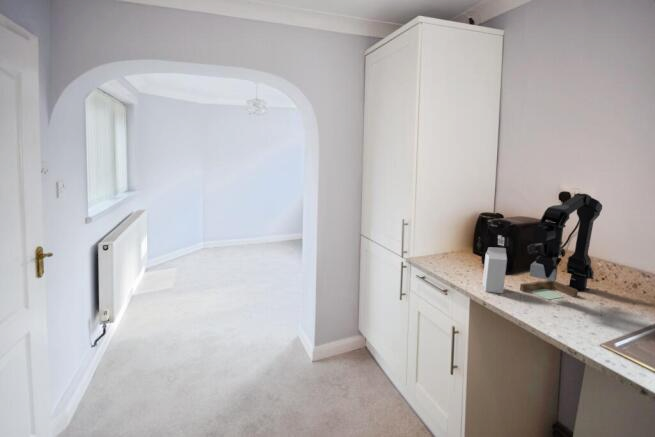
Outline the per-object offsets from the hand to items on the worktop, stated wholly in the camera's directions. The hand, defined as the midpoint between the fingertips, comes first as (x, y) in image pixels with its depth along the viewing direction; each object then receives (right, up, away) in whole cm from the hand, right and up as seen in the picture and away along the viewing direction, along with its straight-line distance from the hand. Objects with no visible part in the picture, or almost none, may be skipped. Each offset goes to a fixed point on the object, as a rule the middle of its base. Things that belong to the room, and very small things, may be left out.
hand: (548, 276), depth 151 cm
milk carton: (-17, -8, +13) cm, 23 cm away
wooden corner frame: (+4, -9, +8) cm, 13 cm away
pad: (+4, -9, +8) cm, 13 cm away
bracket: (0, -1, +3) cm, 3 cm away
